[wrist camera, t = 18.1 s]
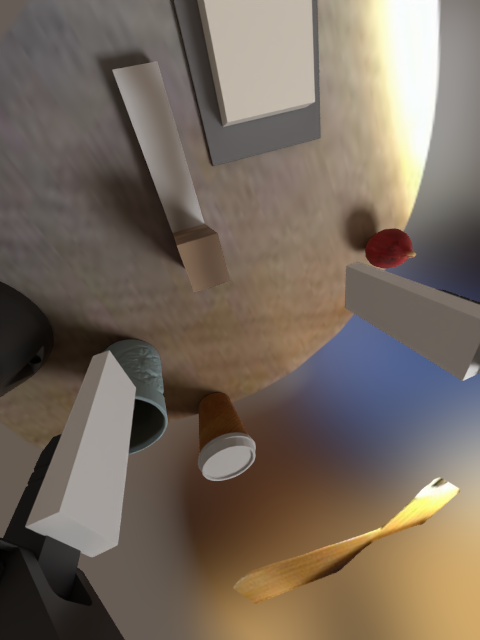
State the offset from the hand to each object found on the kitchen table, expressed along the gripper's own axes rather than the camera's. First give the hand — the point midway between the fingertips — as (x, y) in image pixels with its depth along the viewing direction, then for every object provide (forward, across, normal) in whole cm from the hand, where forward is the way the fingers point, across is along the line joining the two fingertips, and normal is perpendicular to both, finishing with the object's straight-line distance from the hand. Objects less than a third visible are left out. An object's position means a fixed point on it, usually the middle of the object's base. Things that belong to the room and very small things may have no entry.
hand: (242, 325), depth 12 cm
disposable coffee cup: (+22, -6, -30) cm, 38 cm away
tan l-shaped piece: (+21, 0, +7) cm, 23 cm away
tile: (+20, +12, +11) cm, 26 cm away
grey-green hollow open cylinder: (+22, -15, -14) cm, 30 cm away
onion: (+22, +28, -8) cm, 36 cm away
